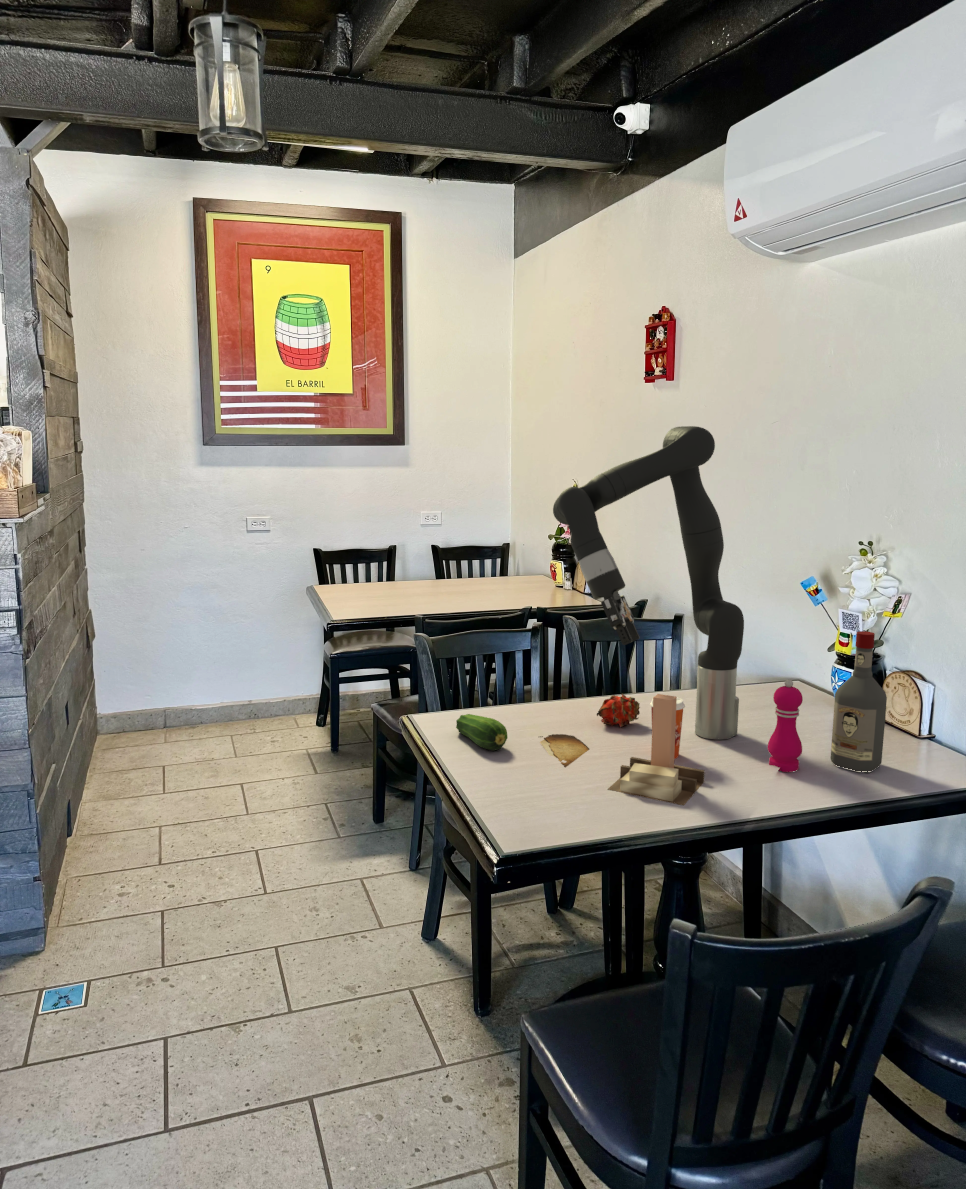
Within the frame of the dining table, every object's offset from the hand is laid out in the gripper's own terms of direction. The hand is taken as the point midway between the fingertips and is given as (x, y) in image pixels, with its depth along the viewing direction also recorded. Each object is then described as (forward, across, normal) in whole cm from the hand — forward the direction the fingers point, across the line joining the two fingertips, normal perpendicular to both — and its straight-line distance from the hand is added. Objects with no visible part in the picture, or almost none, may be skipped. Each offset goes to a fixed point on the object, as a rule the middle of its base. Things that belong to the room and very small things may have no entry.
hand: (631, 642), depth 192 cm
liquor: (+45, +21, -30) cm, 58 cm away
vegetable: (+8, +7, +45) cm, 46 cm away
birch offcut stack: (+29, -12, +6) cm, 32 cm away
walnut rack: (+30, -9, +6) cm, 32 cm away
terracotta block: (+29, -5, +5) cm, 30 cm away
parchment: (+18, +6, +26) cm, 32 cm away
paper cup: (+27, +10, +6) cm, 30 cm away
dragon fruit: (+18, +30, +18) cm, 39 cm away
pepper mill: (+39, +14, -17) cm, 44 cm away
